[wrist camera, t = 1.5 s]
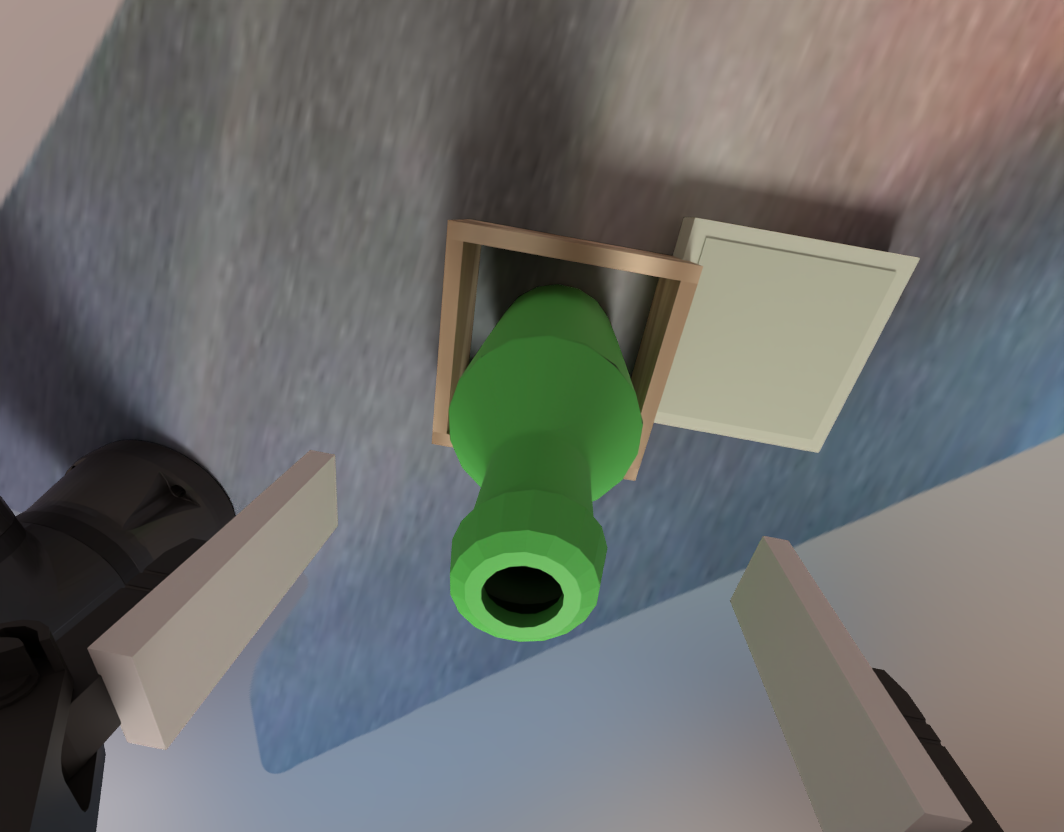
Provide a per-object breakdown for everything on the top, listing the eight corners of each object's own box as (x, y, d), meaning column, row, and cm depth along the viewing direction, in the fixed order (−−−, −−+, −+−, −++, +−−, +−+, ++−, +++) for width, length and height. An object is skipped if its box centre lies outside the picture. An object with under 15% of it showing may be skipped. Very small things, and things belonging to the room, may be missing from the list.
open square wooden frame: (452, 409, 37) (431, 443, 31) (469, 219, 30) (447, 219, 25) (625, 441, 37) (634, 480, 31) (679, 257, 30) (703, 266, 25)
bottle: (553, 256, 31) (507, 365, 8) (636, 338, 33) (778, 604, 10) (476, 343, 34) (293, 592, 12) (556, 413, 36) (532, 742, 14)
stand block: (630, 403, 35) (635, 419, 32) (683, 217, 29) (695, 217, 26) (799, 434, 35) (819, 453, 32) (887, 254, 29) (922, 258, 26)
